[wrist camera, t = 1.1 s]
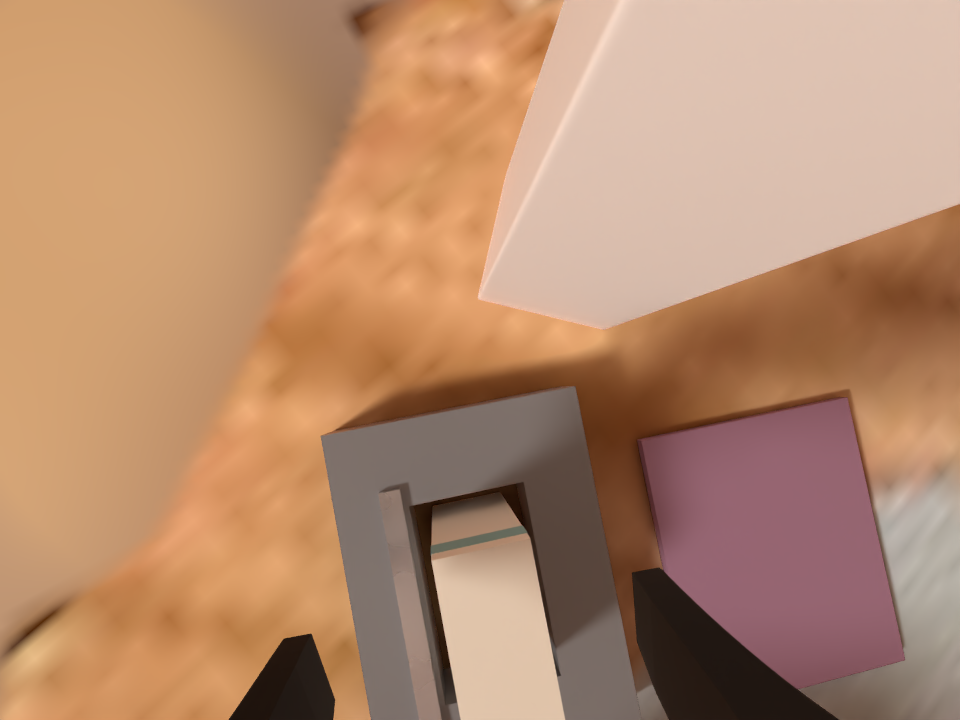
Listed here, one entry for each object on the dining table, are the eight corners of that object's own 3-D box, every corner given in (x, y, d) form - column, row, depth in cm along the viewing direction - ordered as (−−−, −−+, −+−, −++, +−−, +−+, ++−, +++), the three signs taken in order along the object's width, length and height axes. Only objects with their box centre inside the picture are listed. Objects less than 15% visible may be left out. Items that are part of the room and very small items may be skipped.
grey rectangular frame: (622, 703, 22) (649, 748, 19) (393, 764, 21) (387, 821, 18) (559, 386, 23) (577, 386, 20) (334, 430, 22) (318, 436, 19)
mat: (895, 654, 23) (905, 660, 23) (691, 709, 22) (697, 716, 22) (838, 397, 24) (847, 397, 23) (636, 439, 23) (641, 440, 22)
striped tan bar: (526, 629, 22) (570, 742, 15) (457, 646, 22) (468, 769, 15) (500, 491, 22) (530, 537, 15) (431, 505, 22) (430, 560, 15)
